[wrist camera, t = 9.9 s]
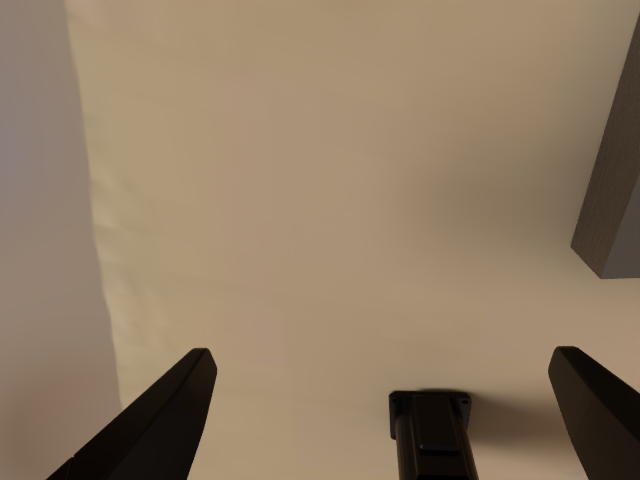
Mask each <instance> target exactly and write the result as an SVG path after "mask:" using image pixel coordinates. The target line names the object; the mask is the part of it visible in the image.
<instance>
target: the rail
mask: <svg viewBox="0 0 640 480" xmlns="http://www.w3.org/2000/svg"><path fill="white" fill-rule="evenodd" d="M571 248H572V249H573V250H574V251H575V252H576V253H577V254H578V255H579V257H580V258H581V259H582V260H583V261H584V262H585V263H586V264H587V265H588V266H589V267H590V268H591V270H592V271H593V272H594V273H595V274H596V275H597V276H598V277H599V278H600V279H617V278H640V14H639V17H638V21H637V24H636V27H635V31H634V34H633V37H632V41H631V44H630V48H629V51H628V54H627V58H626V61H625V64H624V68H623V71H622V75H621V78H620V81H619V85H618V88H617V91H616V95H615V98H614V101H613V105H612V108H611V112H610V115H609V118H608V122H607V125H606V128H605V132H604V135H603V139H602V142H601V145H600V149H599V152H598V155H597V159H596V162H595V166H594V169H593V172H592V176H591V179H590V182H589V186H588V189H587V193H586V196H585V199H584V203H583V206H582V209H581V213H580V216H579V220H578V223H577V226H576V230H575V233H574V236H573V240H572V243H571Z"/></svg>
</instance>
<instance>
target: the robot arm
mask: <svg viewBox="0 0 640 480" xmlns="http://www.w3.org/2000/svg"><path fill="white" fill-rule="evenodd" d="M548 374H549V378H550V381H551V384H552V387H553V390H554V393H555V396H556V399H557V402H558V405H559V408H560V411H561V413H562V416H563V419H564V422H565V425H566V428H567V431H568V434H569V436H570V439H571V442H572V444H573V446H574V449H575V451H576V453H577V455H578V458H579V460H580V462H581V464H582V466H583V468H584V470H585V473H586V475H587V477H588V479H589V480H640V393H639V392H637V391H636V390H634V389H633V388H632V387H630V386H629V385H628V384H626V383H625V382H624V381H622V380H621V379H620V378H618V377H617V376H616V375H614V374H613V373H612V372H610V371H609V370H607V369H606V368H605V367H603V366H602V365H601V364H599V363H598V362H597V361H595V360H594V359H593V358H591V357H590V356H589V355H587V354H586V353H584V352H583V351H582V350H580V349H579V348H577V347H574V346H558V347H556V348H555V350H554V352H553V355H552V358H551V361H550V364H549V368H548ZM216 376H217V366H216V364H215V361H214V359H213V357H212V355H211V352H210V350H209V349H208V348H194V349H192V350H191V351H190V352H188V353H187V354H186V355H185V356H184V357H183V358H182V359H181V360H179V361H178V362H177V363H176V364H175V365H174V366H173V367H172V368H171V369H169V370H168V371H167V372H166V373H165V374H164V375H163V376H162V377H160V378H159V379H158V380H157V381H156V382H155V383H154V384H153V385H151V386H150V387H149V388H148V389H147V390H146V391H145V392H144V393H143V394H141V395H140V396H139V397H138V398H137V399H136V400H135V401H134V402H132V403H131V404H130V405H129V406H128V407H127V408H126V409H125V410H123V411H122V412H121V413H120V414H119V415H118V416H117V417H116V418H114V419H113V420H112V421H111V422H110V423H109V424H108V425H107V426H106V427H105V428H103V429H102V430H101V431H100V432H99V433H98V434H97V435H95V436H94V437H93V438H92V439H91V440H90V441H89V442H88V443H86V444H85V445H84V446H83V447H82V448H81V449H80V450H79V451H78V452H76V453H75V455H74V457H71V458H70V459H68V460H67V461H66V462H65V463H64V464H63V465H62V466H61V467H60V468H58V469H57V470H56V471H55V472H54V473H53V474H51V475H50V476H49V477H48V478H47V479H46V480H187V477H188V475H189V472H190V469H191V466H192V463H193V460H194V457H195V454H196V451H197V448H198V445H199V442H200V439H201V436H202V433H203V430H204V427H205V423H206V419H207V415H208V410H209V406H210V402H211V397H212V393H213V389H214V385H215V380H216ZM471 403H472V401H471V397H470V396H469V395H468V394H451V393H391V394H390V395H389V412H390V435H391V438H392V439H394V440H396V444H397V457H398V469H399V480H479V478H478V474H477V470H476V466H475V462H474V458H473V454H472V450H471V446H470V442H469V438H468V434H467V428H468V422H469V416H470V410H471Z"/></svg>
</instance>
